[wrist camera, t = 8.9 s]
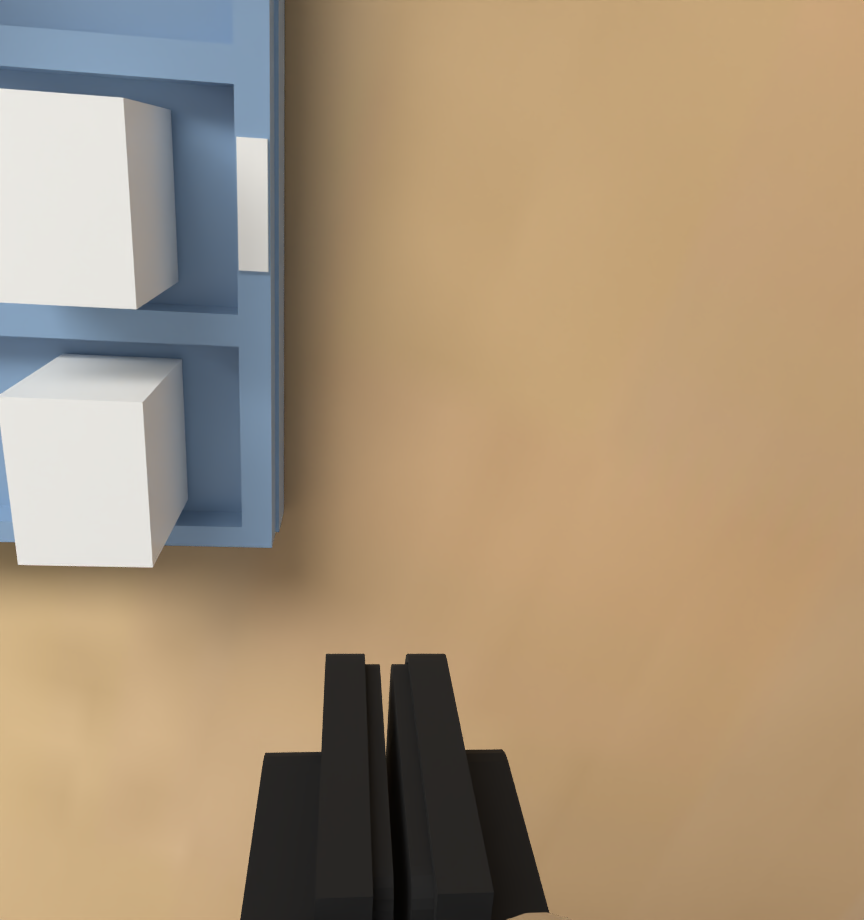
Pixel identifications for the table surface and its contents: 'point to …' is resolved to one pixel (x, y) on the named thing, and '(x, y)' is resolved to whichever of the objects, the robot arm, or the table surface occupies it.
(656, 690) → the table surface
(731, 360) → the table surface
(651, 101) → the table surface
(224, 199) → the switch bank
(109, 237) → the white rectangular block
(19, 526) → the white square block
